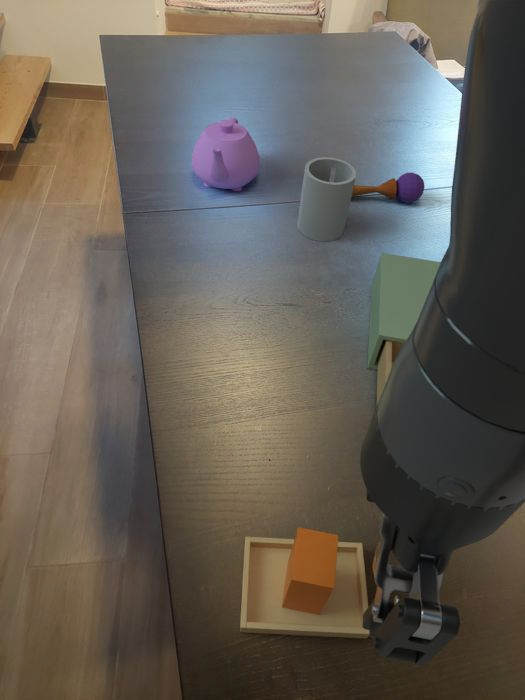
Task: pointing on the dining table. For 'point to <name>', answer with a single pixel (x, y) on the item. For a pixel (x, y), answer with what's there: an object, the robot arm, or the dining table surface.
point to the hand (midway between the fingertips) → (379, 557)
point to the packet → (310, 571)
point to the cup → (325, 199)
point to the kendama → (396, 188)
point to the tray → (268, 588)
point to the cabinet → (397, 300)
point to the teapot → (225, 156)
